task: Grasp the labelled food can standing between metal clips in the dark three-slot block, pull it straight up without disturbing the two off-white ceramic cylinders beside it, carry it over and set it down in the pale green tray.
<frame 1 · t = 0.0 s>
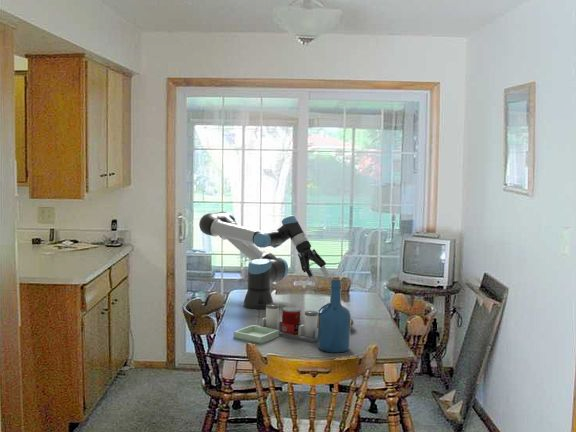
hand: (321, 279, 346), 15 cm above the table, tool tilted 35°, fingers open, 13 cm apart
fuse block: (290, 333, 303), on the table
wine bottle: (332, 349, 282), on the table
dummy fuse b: (310, 337, 298), resting in fuse block
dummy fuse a: (271, 329, 308), resting in fuse block
tray: (256, 337, 295), on the table
pie: (329, 328, 314), on the table
canned food: (290, 333, 303), resting in fuse block
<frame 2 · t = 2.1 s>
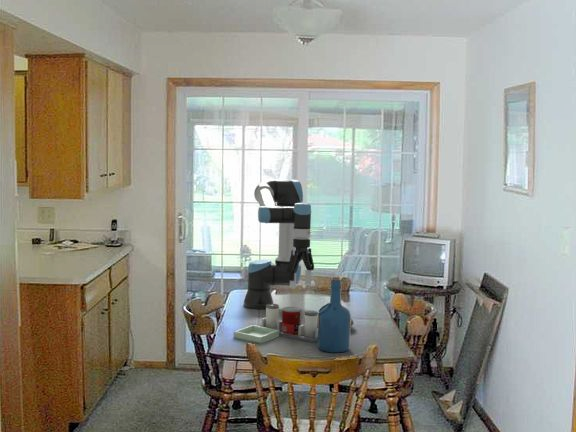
hand: (300, 286, 304), 20 cm above the table, tool pointing down, fingers open, 13 cm apart
nothing on the table moved.
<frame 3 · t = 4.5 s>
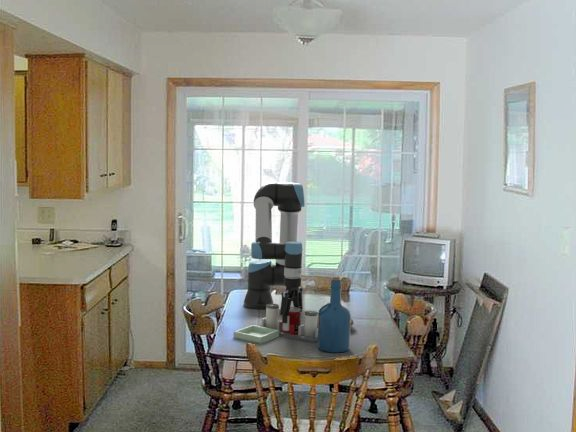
hand: (290, 328, 303), 2 cm above the table, tool pointing down, fingers closed on canned food, 8 cm apart
canned food: (290, 333, 303), resting in fuse block, touching gripper
everything else where it was.
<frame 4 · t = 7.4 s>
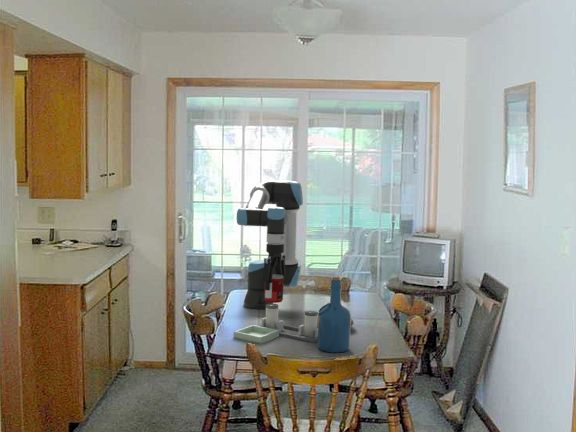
hand: (273, 295, 296), 17 cm above the table, tool pointing down, fingers closed on canned food, 8 cm apart
canned food: (273, 301, 297), point 15 cm above the table, touching gripper
everything else where it was.
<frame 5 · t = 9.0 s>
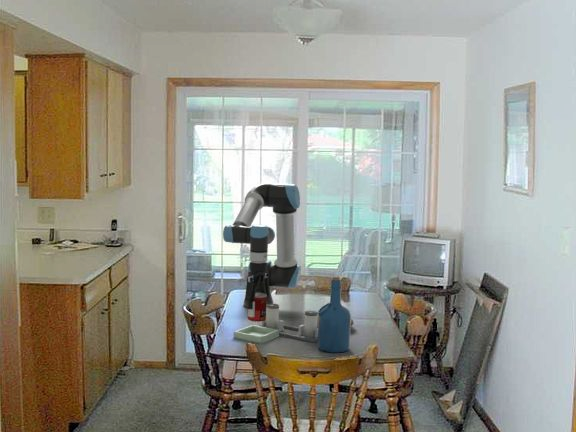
hand: (256, 314, 293), 10 cm above the table, tool pointing down, fingers closed on canned food, 8 cm apart
canned food: (256, 320, 294), point 8 cm above the table, touching gripper
everything else where it was.
when the fingers open (4 cm above the table, at t = 10.3 s): canned food stays where it is, resting on tray.
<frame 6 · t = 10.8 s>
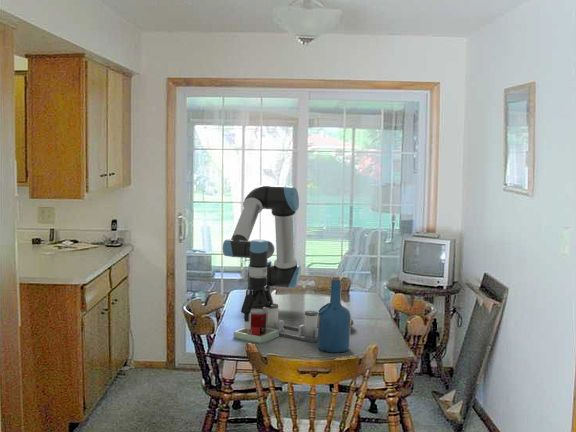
hand: (256, 325, 294), 5 cm above the table, tool pointing down, fingers open, 13 cm apart
canned food: (256, 336, 295), resting on tray
everything else where it was.
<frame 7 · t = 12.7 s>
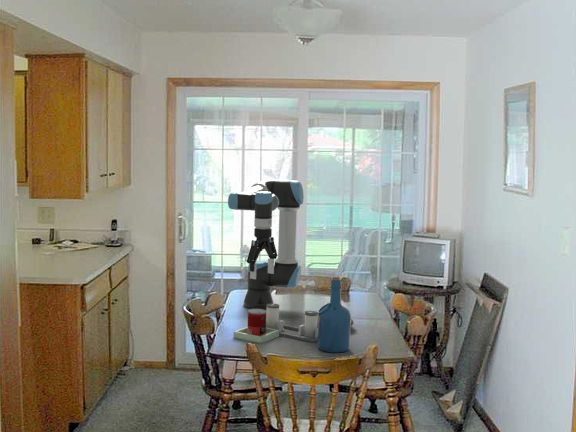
hand: (262, 276, 300), 25 cm above the table, tool pointing down, fingers open, 13 cm apart
nothing on the table moved.
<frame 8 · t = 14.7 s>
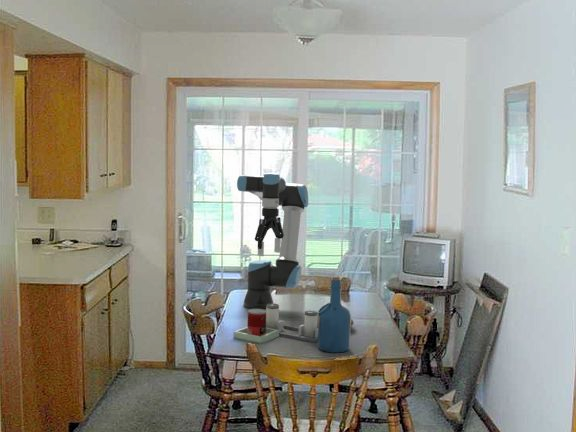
hand: (269, 254, 312), 33 cm above the table, tool pointing down, fingers open, 13 cm apart
nothing on the table moved.
at the end: canned food inside the target area on the tray (0.1 cm from its centre), point 0.4 cm above the tray's base; canned food tilted 0°; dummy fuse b moved 0.0 cm from its start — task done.
